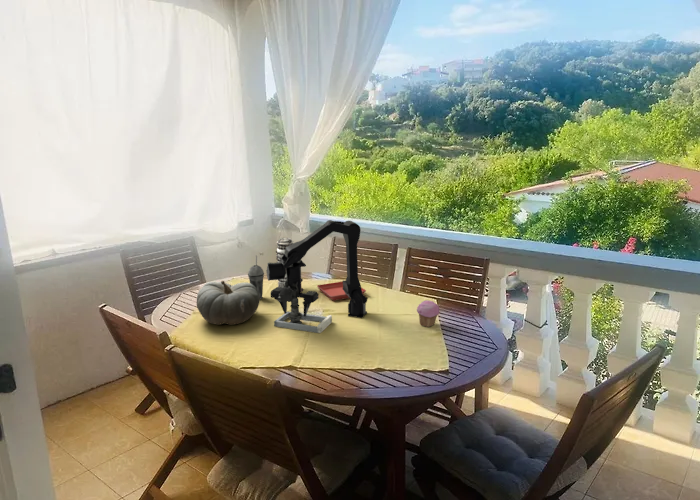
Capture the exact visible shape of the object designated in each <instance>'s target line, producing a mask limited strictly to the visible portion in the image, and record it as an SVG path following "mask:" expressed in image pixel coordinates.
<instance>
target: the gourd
mask: <svg viewBox="0 0 700 500" xmlns="http://www.w3.org/2000/svg"><path fill="white" fill-rule="evenodd" d="M260 300H261V299H260V297H259V294H258V291H257V289H256V287H255V286H254V285H252V284H250V282H238V283H236V284H232V285H231V284H230V283H226V282H225V280H221V281H209V282H205V284H203V286H202V287H201V288H200V289H199V291H198V292H197V295H196V307H197V310H198V312H199V314H200V315H201V317H202V318H203V319H204V320H205V321H206V322H208V323H209V324H214V325H218V326H220V325H223V324H227V325H229V326H230V325H231V326H233V325H238V324H242V323H244V322H246V321H249V319H250V318H251V317H253V315H255V313H256V312H257V310H258V308H259V305H260Z"/></svg>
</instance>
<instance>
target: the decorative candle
mask: <svg viewBox="0 0 700 500" xmlns="http://www.w3.org/2000/svg"><path fill="white" fill-rule="evenodd" d="M293 243H295V242H294V240H292V238H290V237H281V238H279V239H278V240H277V241H276V244H277V247H276V250H275V253H276V254H275V255H276V257H275V258H276V260H277V261H276V263H277V262H280V259H281V258H282V256H283V255H284V254H285V253H284V252H285V249H286V247H288V246H289V245H291V244H293ZM285 270H286V268H285ZM285 281H287V276H285V278H283V279H279V280H277V287H282V288H284V287H285Z"/></svg>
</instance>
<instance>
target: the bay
mask: <svg viewBox="0 0 700 500" xmlns="http://www.w3.org/2000/svg"><path fill="white" fill-rule="evenodd" d="M289 313H291V311H288V310H287V313H286V314H284V313H283V314H282V315H280V316H279V317H278V318H276V319H275V320H274V321H273V326H274V327H278V328H282V329H283V328H285V329H290V330H295V331H296V330H297V331H302V332H303V331H304V332H311V333H317V334H321V333H322V332H323V331H325V329H326V328H328V327H329V325H330V324H332V322H333V317H332V316H333V315H331V314H329V315H327V316H324V315H315V314H308V313H307V314H306V316H305V317H304V312H301V313H302V314H303V315H302V318H301V319H300V320H306V321H313V322H318V321H319V323H318V325H309V324H303V323H302V324H297V323H290V321H286V320H287V319H289V316H288V314H289Z"/></svg>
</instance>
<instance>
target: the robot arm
mask: <svg viewBox="0 0 700 500" xmlns="http://www.w3.org/2000/svg"><path fill="white" fill-rule="evenodd" d="M332 233H339V234H342V235H343V239H344V242H345V252H346V255H345V256H346V279H345V280H342V281H341V282H343V290H344V292H345V294H346V295H347V296H348V297H349V298H348V299H350V300H349V301H348V305H347V309H348V310H347V311H348V314H347V316H348V317H353V318H359V319H360V318H361V319H362V318H364V317H365V315H367V313H368V311H366V310H367V309H366V308H367V302H368V299H369V298H368V297H366V295H365V294H362V289H361V287H362V285H361V282H360V280H359V266H358V265H359V264H358V262H359V261H358V260H359V258H358V242H359V240H360V238H361V227H360V225H359V224H358V223H356V222H354V221H353V220H346V221H339V220H337V221H336V220H331V219H329V220H327V221H326V222H324V224H322V225H321V226H320V227H318V228H316V229H315V230H314V231H313V232H311V233H310V234H309V235H308V236H306V237H304V238H302V239H301V240H298V241H296V242H293V244H291V245H289V246H288V247H286V249H285V252H284V253H285V254H284V255H283V256H282V258H281V259H280V262H277V261H276V262H267V266H266V279H267V281H269V282H270V281H278V280H279V279H283V278H285V276H287V281H285V287H284V288H282V287H278V286H277V287H275V288H273V289H272V290H271V291H270V298H273V299H274V300H275V301H277V302H278V303H279V305H280V306H281V309H282V311H283V314H286V313H287V311H288V303H291V301H292V300H293V299H294V298H295V299H297V298H298V299H300V298H302V299H303V301H302V305H303V314H304V317H305V316H306V314H308V312H309V309H310V307H311V304H312V303H314V302H316V301H317V300H318V299H319V296H320V295H319V292H318V291H314V290H308V291H306V292H303V291H304V288H302V282H303V281H304V279H303V278H302V268H304V267H307V265H306V263H305V262H304V261H303V258H304V257H305V256H306V254H307V253H308V251H310V249H312V248H314V247H315V246H316V245H317V244H319V243H320V242H321V241H322V240H323V239H326V237H328V236H329V235H330V234H332ZM285 268H286V270H285Z"/></svg>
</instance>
